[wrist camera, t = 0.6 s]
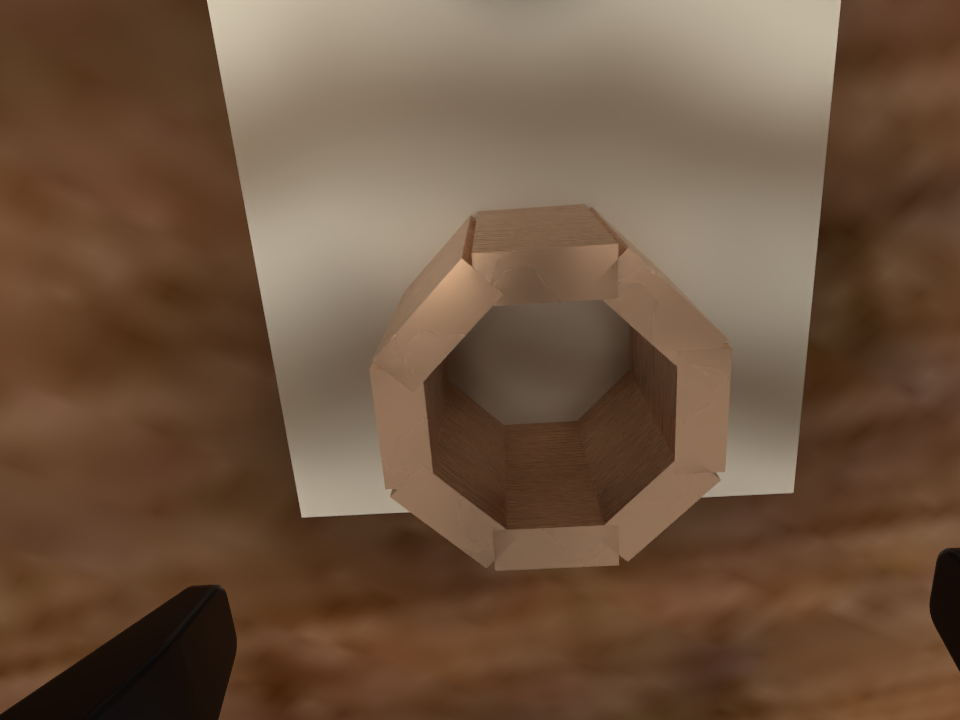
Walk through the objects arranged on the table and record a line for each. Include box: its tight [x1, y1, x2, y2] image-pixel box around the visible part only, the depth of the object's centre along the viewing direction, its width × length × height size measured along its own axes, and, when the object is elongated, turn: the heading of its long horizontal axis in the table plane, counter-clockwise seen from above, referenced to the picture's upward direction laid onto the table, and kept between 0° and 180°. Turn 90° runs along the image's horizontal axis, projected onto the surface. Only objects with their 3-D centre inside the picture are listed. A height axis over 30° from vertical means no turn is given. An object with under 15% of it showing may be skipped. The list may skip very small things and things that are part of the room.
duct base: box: [207, 0, 841, 518], centre depth 15 cm, size 20×14×6 cm
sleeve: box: [369, 204, 732, 571], centre depth 16 cm, size 7×7×5 cm
